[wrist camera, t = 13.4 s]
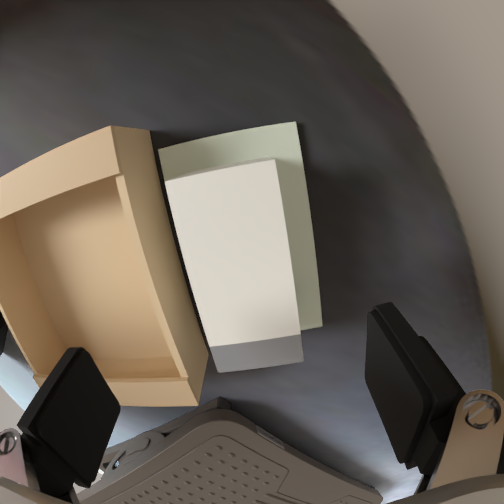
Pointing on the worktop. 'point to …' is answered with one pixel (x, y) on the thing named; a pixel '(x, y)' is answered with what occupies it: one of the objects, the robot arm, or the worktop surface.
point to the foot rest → (218, 467)
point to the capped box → (239, 262)
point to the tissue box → (2, 332)
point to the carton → (99, 269)
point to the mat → (291, 187)
